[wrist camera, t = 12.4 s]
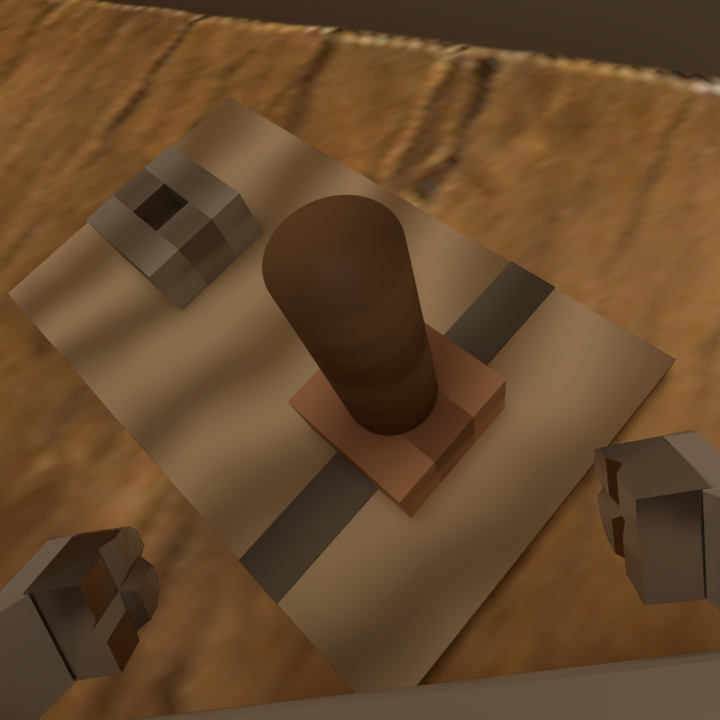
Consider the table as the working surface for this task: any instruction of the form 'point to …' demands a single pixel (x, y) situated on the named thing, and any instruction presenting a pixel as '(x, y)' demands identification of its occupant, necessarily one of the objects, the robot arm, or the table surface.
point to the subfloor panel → (267, 441)
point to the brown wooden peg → (356, 308)
